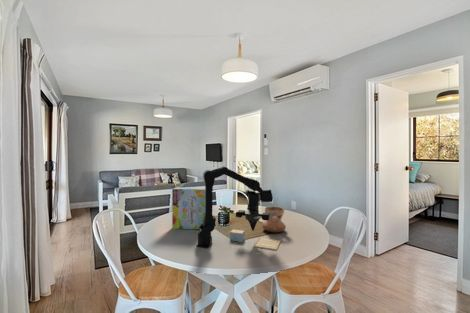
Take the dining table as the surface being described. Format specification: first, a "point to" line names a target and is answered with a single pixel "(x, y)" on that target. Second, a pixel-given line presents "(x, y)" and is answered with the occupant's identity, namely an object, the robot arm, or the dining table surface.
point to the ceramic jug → (274, 220)
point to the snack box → (188, 207)
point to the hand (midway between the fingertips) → (253, 230)
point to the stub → (237, 235)
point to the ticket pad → (267, 243)
